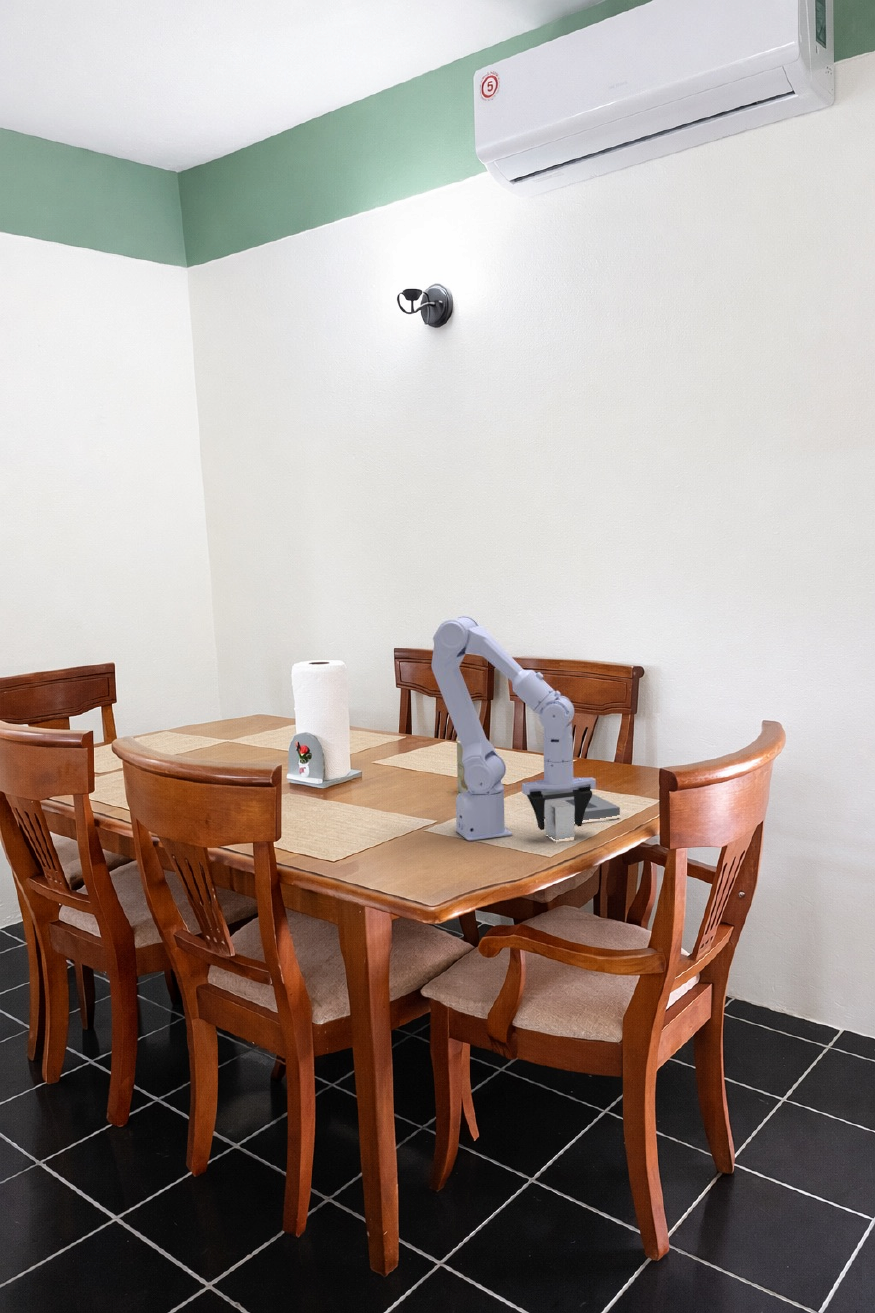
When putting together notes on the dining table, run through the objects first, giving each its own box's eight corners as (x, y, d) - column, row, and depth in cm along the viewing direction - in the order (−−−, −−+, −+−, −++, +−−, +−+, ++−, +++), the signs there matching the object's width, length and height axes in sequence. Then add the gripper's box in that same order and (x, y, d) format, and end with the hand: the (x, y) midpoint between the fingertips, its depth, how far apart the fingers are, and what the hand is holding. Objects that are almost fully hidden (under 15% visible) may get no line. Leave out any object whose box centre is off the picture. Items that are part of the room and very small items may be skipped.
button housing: (544, 808, 219) (544, 795, 218) (530, 800, 226) (529, 787, 226) (577, 804, 221) (577, 791, 221) (562, 796, 229) (561, 783, 228)
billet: (555, 842, 194) (555, 807, 193) (545, 836, 199) (544, 801, 198) (574, 840, 195) (573, 805, 194) (563, 833, 200) (563, 799, 199)
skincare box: (457, 791, 237) (455, 740, 235) (473, 788, 238) (472, 738, 237) (467, 797, 231) (465, 745, 229) (484, 795, 232) (483, 743, 231)
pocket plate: (558, 826, 205) (558, 815, 204) (535, 812, 216) (535, 801, 216) (619, 818, 209) (619, 807, 208) (593, 805, 220) (593, 794, 220)
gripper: (586, 752, 200) (588, 818, 202) (517, 758, 198) (518, 824, 199) (598, 759, 194) (600, 827, 195) (527, 765, 191) (528, 834, 192)
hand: (559, 826), depth 197 cm, fingers open, 7 cm apart
